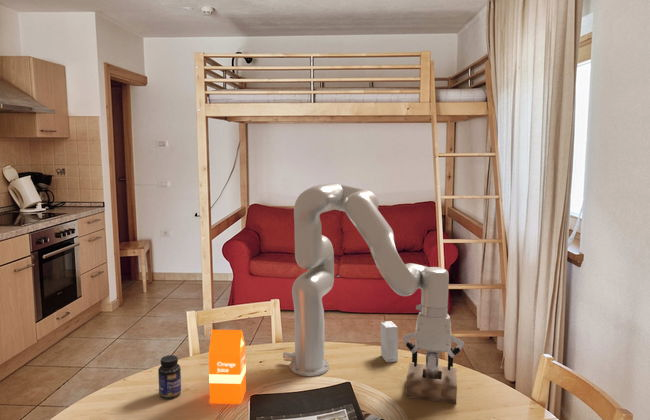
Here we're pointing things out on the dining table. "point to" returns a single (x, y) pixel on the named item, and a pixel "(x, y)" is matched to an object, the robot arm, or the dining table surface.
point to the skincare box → (389, 341)
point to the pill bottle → (169, 377)
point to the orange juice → (227, 367)
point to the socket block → (432, 384)
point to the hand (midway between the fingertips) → (432, 366)
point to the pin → (432, 364)
